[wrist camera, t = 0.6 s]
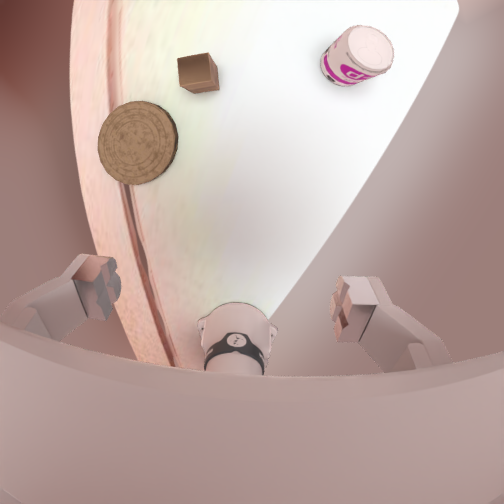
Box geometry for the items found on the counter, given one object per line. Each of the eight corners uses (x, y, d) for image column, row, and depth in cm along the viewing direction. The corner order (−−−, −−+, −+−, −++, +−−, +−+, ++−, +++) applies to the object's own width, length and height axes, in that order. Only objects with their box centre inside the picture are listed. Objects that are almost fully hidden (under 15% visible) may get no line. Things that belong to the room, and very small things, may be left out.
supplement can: (357, 92, 43) (393, 82, 29) (315, 78, 42) (339, 60, 28) (364, 56, 39) (401, 36, 26) (323, 42, 39) (348, 14, 25)
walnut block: (219, 89, 43) (211, 80, 34) (193, 93, 43) (179, 86, 34) (217, 66, 41) (208, 52, 32) (191, 70, 42) (177, 58, 32)
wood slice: (194, 125, 46) (191, 124, 44) (154, 196, 52) (148, 200, 49) (128, 89, 43) (121, 88, 40) (93, 159, 48) (86, 161, 46)
